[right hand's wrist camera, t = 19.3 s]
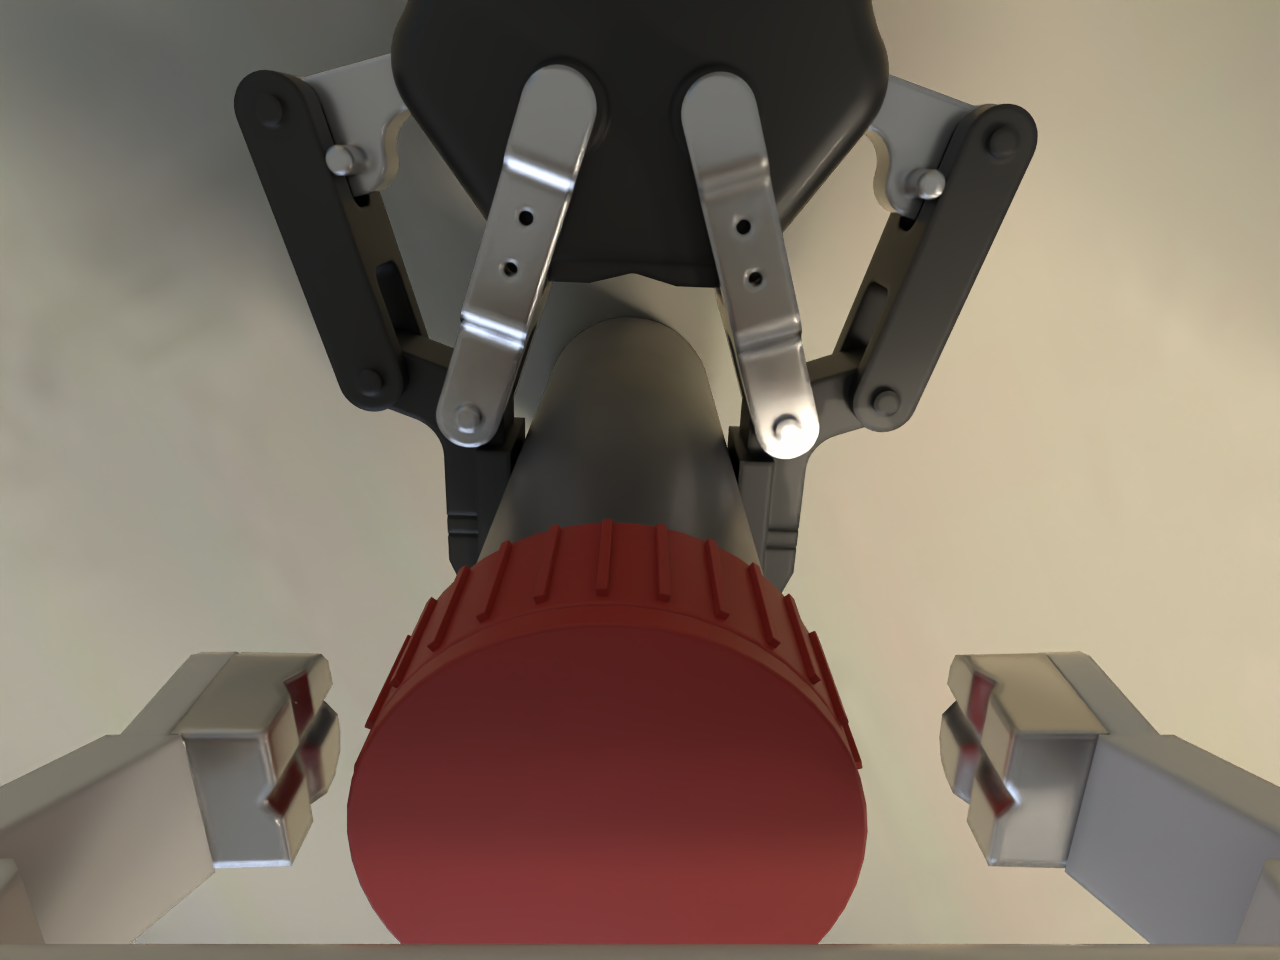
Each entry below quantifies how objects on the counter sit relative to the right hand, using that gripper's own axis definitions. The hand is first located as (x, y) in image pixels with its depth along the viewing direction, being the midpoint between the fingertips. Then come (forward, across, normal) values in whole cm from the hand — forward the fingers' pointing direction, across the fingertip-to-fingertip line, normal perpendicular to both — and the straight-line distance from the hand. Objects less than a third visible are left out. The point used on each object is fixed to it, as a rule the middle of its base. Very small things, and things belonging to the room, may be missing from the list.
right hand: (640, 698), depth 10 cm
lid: (-2, 0, 0) cm, 2 cm away
